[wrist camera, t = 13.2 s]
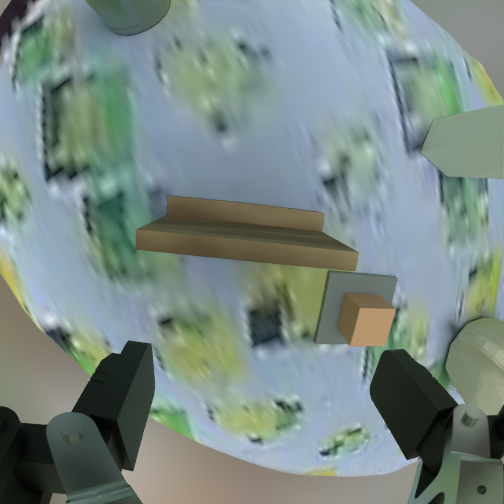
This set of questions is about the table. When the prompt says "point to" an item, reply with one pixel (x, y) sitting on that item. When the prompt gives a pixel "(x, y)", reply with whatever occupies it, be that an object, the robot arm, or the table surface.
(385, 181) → the table surface
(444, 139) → the milk
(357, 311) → the letter cube
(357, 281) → the slate pad
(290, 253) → the walnut screen
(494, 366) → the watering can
